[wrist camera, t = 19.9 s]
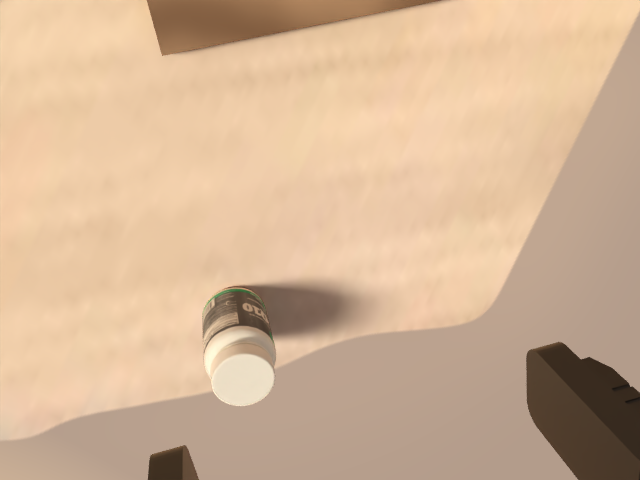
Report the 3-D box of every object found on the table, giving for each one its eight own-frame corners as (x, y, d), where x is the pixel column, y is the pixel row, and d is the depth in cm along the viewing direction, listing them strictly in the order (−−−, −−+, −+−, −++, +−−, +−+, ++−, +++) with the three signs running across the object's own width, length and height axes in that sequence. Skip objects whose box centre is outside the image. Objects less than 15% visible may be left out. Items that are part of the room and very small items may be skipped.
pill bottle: (275, 323, 45) (293, 392, 37) (218, 348, 44) (225, 423, 37) (249, 274, 42) (263, 337, 35) (190, 301, 42) (191, 370, 35)
